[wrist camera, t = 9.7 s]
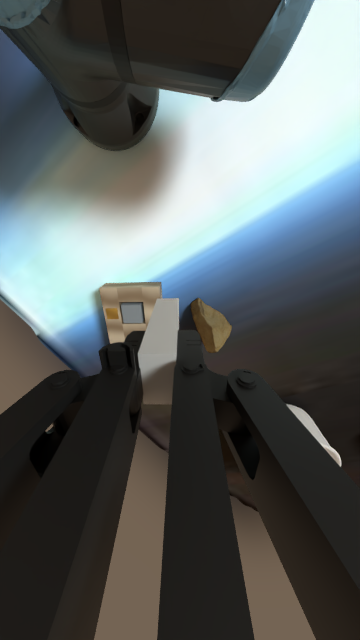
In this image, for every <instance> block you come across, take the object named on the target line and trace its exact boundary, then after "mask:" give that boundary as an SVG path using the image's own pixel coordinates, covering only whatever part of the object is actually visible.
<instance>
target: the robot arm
mask: <svg viewBox="0 0 360 640" xmlns="http://www.w3.org/2000/svg"><path fill="white" fill-rule="evenodd" d="M313 3H314V0H0V29H1V30H2V31H3V32H4V33H5V34H6V35H7V36H8V37H9V38H10V39H11V41H12V42H13V43H14V44H15V45H16V46H17V47H18V48H19V49H20V50H21V51H22V52H23V53H24V54H25V56H26V57H27V58H28V59H29V60H30V61H31V62H32V63H33V64H34V65H35V66H36V67H37V68H38V70H39V71H40V72H41V73H42V74H43V75H44V76H45V77H46V78H47V79H48V80H49V82H50V83H51V84H52V87H53V89H54V92H55V94H56V97H57V99H58V101H59V103H60V106H61V107H62V109H63V111H64V113H65V115H66V116H67V118H68V119H69V120H70V122H71V123H72V124H73V126H74V127H75V128H76V129H77V130H78V131H79V132H80V133H81V134H82V135H83V136H84V137H85V138H87V139H88V140H89V141H90V142H92V143H93V144H95V145H97V146H99V147H101V148H103V149H107V150H113V151H119V150H125V149H128V148H130V147H132V146H134V145H136V144H137V143H138V142H139V141H141V140H142V139H143V137H144V136H145V135H146V134H147V132H148V131H149V129H150V127H151V125H152V123H153V121H154V118H155V115H156V111H157V107H158V100H159V89H163V90H169V91H175V92H180V93H186V94H192V95H197V96H203V97H209V98H211V100H212V101H214V102H219V101H222V100H230V101H239V102H247V101H251V100H253V99H254V98H255V97H256V96H258V95H259V94H261V93H262V92H263V91H264V90H265V89H266V88H267V87H268V85H269V84H270V83H271V81H272V80H273V79H274V77H275V76H276V74H277V73H278V71H279V69H280V68H281V66H282V64H283V63H284V61H285V59H286V58H287V56H288V54H289V52H290V50H291V48H292V46H293V44H294V42H295V40H296V39H297V37H298V35H299V32H300V30H301V28H302V26H303V24H304V22H305V20H306V18H307V16H308V13H309V11H310V9H311V7H312V5H313ZM98 352H99V356H100V360H101V365H102V370H101V372H100V374H97V375H93V376H88V377H84V378H80V376H79V374H78V372H76V371H73V370H64V371H59V372H57V373H54V374H52V375H50V376H49V377H47V378H46V379H44V380H43V381H42V382H40V383H39V384H38V385H37V386H35V387H34V388H33V389H32V390H31V391H29V392H28V393H27V394H26V395H24V396H23V397H22V398H21V399H19V400H18V401H17V402H16V403H15V404H13V405H12V406H11V407H9V408H8V409H7V410H6V411H4V412H3V413H2V414H1V415H0V640H94V636H95V632H96V627H97V622H98V618H99V613H100V608H101V603H102V598H103V594H104V589H105V585H106V580H107V575H108V571H109V565H110V561H111V556H112V552H113V547H114V542H115V538H116V533H117V528H118V524H119V519H120V514H121V509H122V504H123V500H124V495H125V491H126V486H127V481H128V476H129V471H130V467H131V462H132V458H133V453H134V448H135V443H136V439H137V434H138V429H139V425H140V420H141V415H142V410H141V402H142V398H143V402H144V404H172V410H171V427H170V443H169V459H168V475H167V491H166V507H165V523H164V540H163V556H162V572H161V588H160V604H159V620H158V621H159V622H158V637H157V640H254V634H253V628H252V623H251V617H250V611H249V605H248V599H247V594H246V588H245V582H244V576H243V571H242V565H241V559H240V553H239V547H238V542H237V536H236V530H235V524H234V519H233V513H232V507H231V501H230V495H229V490H228V484H227V478H226V472H225V466H224V461H223V455H222V449H221V443H220V438H219V432H218V429H220V430H222V431H223V434H224V436H225V439H226V441H227V443H228V445H229V448H230V450H231V452H232V454H233V456H234V459H235V461H236V463H237V465H238V467H239V470H240V472H241V474H242V476H243V479H244V481H245V483H246V485H247V487H248V490H249V492H250V494H251V496H252V498H253V501H254V503H255V505H256V507H257V510H258V512H259V514H260V516H261V518H262V521H263V523H264V525H265V527H266V529H267V532H268V534H269V536H270V538H271V541H272V543H273V545H274V547H275V549H276V552H277V554H278V556H279V558H280V560H281V563H282V565H283V567H284V569H285V572H286V574H287V576H288V578H289V580H290V583H291V585H292V587H293V589H294V591H295V594H296V596H297V598H298V600H299V603H300V605H301V607H302V609H303V611H304V614H305V616H306V618H307V620H308V622H309V625H310V627H311V629H312V631H313V634H314V636H315V638H316V640H360V489H359V487H358V486H357V485H356V484H355V483H354V482H353V481H352V479H351V478H350V477H349V476H348V475H347V474H346V473H345V471H344V470H343V469H342V468H341V467H340V466H339V465H338V463H337V462H336V461H335V460H334V459H333V458H332V457H331V456H330V454H329V453H328V452H327V451H326V450H325V449H324V448H323V446H322V445H321V444H320V443H319V442H318V441H317V440H316V438H315V437H314V436H313V435H312V434H311V433H310V432H309V430H308V429H307V428H306V427H305V426H304V425H303V424H302V422H301V421H300V420H299V419H298V418H297V417H296V416H295V414H294V413H293V412H292V411H291V410H290V409H289V408H288V407H287V405H286V404H285V403H284V402H283V401H282V400H281V399H280V397H279V396H278V395H277V394H276V393H275V392H274V391H273V389H272V388H271V387H270V386H269V385H268V384H267V383H266V381H265V380H264V379H263V378H262V377H261V376H259V375H258V374H257V373H255V372H253V371H250V370H246V369H237V370H234V371H232V372H231V373H230V374H229V375H228V376H224V375H220V374H216V373H214V372H212V371H210V370H209V369H208V368H207V366H206V364H205V363H204V358H203V352H202V346H201V339H200V334H199V333H198V332H197V331H196V330H179V298H175V299H157V300H156V303H155V306H154V309H153V312H152V314H151V317H150V320H149V323H148V326H147V329H146V331H132V332H131V333H130V334H128V335H127V337H126V339H125V341H124V342H116V343H112V344H108V345H106V346H104V347H102V348H101V349H100V350H99V351H98ZM51 424H53V427H52V428H51V429H50V430H49V431H48V432H45V430H46V429H47V428H48V427H49V426H50V425H51Z"/></svg>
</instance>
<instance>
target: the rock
mask: <svg viewBox="0 0 360 640" xmlns="http://www.w3.org/2000/svg"><path fill="white" fill-rule="evenodd" d="M191 312H192V315H193V320H194V322H195V326H196V328H197V331H198V333H199V334H200V337H201V339H202V342H203V344H204V346H205V348H206V350H207V351H208V352H209V353H216V352H218V350H219V349H220V348H221V347H222V346H223V345H224V343H225V341H226V339H227V338H228V337H229V335H230V332H231V328H232V326H231V325H230V324H229V323H228V321H227V320H226V318H225V317H224V315H222V314H221V313H220V312H219V311H217V310H215V309H213V308H211V307H210V306H208V305H206V304H204V302H203V301H202V300H201V299H199V298H197V299H196V300H195V301H193V302H192V303H191Z"/></svg>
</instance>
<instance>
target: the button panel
mask: <svg viewBox="0 0 360 640" xmlns="http://www.w3.org/2000/svg"><path fill="white" fill-rule="evenodd" d="M99 290H100V295H101V300H102V305H103V310H104V315H105V320H106V325H107V330H108V335H109V340H110V344H112V343H116V342H124V341H125V339H126V337H127V335H128V334H130V333H131V332H132V331H146V329H147V326H148V323H149V320H150V317H151V314H152V312H153V309H154V306H155V303H156V300H157V299H162V286H161V282H139V283H106V284H104V285H103V286H101V287H100V288H99ZM123 302H143V305H144V314H145V318H144V320H143V323H124V322H123V316H122V309H121V305H122V303H123ZM142 399H143V398H142Z"/></svg>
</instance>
